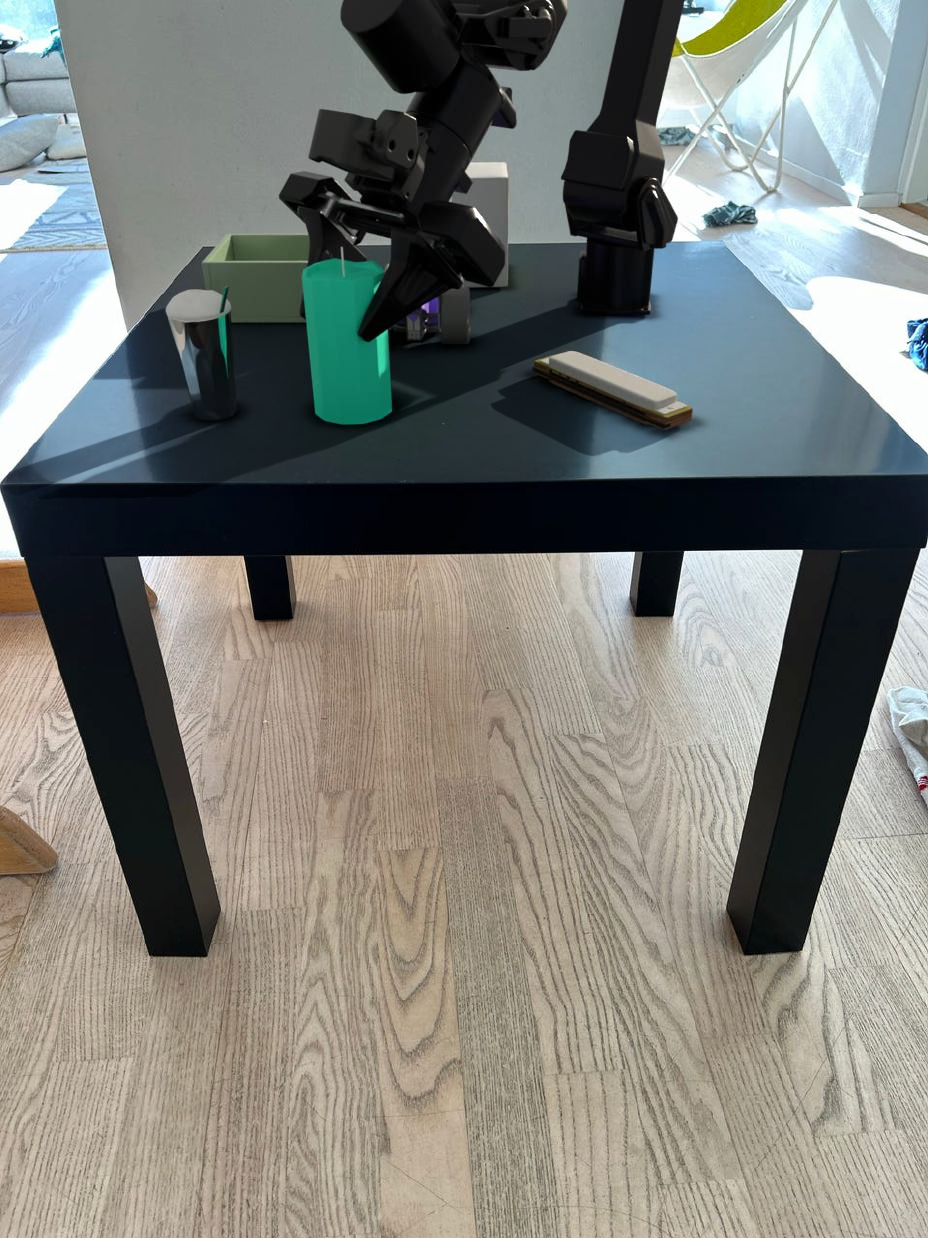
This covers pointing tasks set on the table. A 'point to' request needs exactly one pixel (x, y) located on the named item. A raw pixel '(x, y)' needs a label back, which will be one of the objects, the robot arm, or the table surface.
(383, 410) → the candle
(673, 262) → the table surface
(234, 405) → the milkshake
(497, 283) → the small box
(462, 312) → the toy race car
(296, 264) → the open green box
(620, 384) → the harmonica
